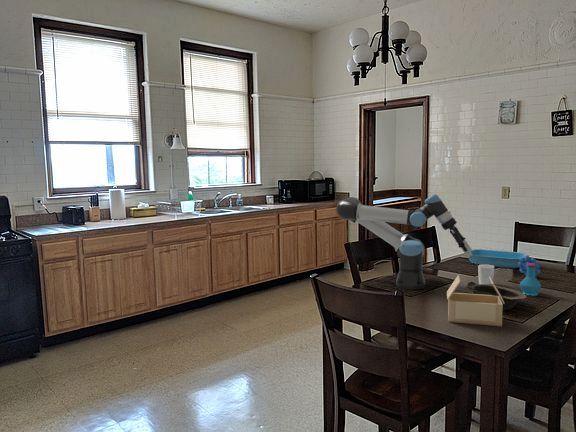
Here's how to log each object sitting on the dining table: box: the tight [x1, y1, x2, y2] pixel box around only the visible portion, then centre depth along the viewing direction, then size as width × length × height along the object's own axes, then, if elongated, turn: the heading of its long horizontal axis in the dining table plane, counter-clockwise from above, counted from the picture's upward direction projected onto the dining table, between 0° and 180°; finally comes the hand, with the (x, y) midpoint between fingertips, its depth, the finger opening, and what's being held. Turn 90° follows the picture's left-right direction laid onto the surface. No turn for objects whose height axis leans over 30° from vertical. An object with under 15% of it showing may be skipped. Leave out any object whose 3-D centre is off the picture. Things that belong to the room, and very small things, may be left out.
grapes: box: [517, 256, 541, 278], centre depth 258 cm, size 12×7×12 cm, turn 57°
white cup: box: [477, 264, 495, 285], centre depth 244 cm, size 8×8×10 cm
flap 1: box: [446, 274, 461, 301], centre depth 193 cm, size 9×11×1 cm
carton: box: [447, 292, 504, 327], centre depth 191 cm, size 20×13×9 cm, turn 72°
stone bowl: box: [465, 281, 527, 311], centre depth 210 cm, size 25×25×9 cm
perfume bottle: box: [519, 263, 542, 297], centre depth 226 cm, size 9×9×15 cm
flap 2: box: [489, 277, 505, 304], centre depth 188 cm, size 9×11×1 cm
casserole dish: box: [468, 248, 530, 269], centre depth 292 cm, size 37×22×7 cm, turn 54°
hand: (470, 253), depth 245 cm, fingers open, 13 cm apart
